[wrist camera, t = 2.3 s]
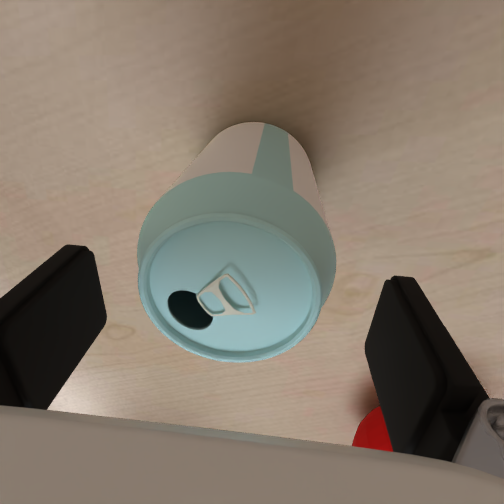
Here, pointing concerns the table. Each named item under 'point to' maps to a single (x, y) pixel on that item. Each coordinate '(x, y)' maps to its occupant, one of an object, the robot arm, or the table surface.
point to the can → (238, 248)
